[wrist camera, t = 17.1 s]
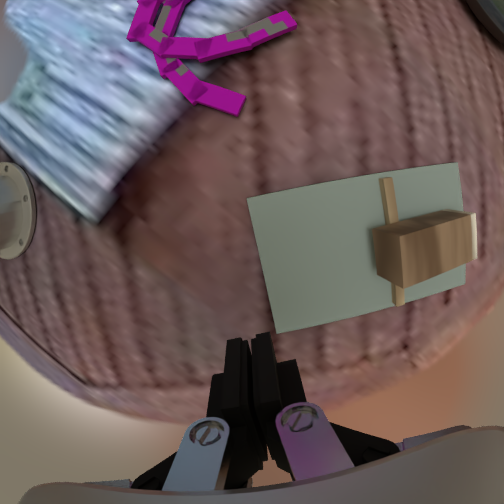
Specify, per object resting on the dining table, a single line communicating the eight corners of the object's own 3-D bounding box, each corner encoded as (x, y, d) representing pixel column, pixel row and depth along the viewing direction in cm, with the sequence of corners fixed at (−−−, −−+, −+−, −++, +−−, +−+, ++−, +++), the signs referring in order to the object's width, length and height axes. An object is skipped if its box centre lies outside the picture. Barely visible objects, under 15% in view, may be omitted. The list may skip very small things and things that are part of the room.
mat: (276, 330, 31) (276, 333, 31) (246, 198, 28) (246, 198, 28) (462, 282, 29) (465, 283, 29) (454, 162, 26) (457, 162, 26)
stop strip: (392, 302, 30) (396, 306, 28) (378, 178, 27) (382, 178, 25) (400, 300, 29) (404, 304, 28) (387, 177, 27) (392, 177, 25)
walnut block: (403, 289, 23) (477, 258, 24) (399, 236, 22) (475, 213, 23) (377, 274, 27) (448, 249, 28) (371, 228, 26) (446, 208, 27)
